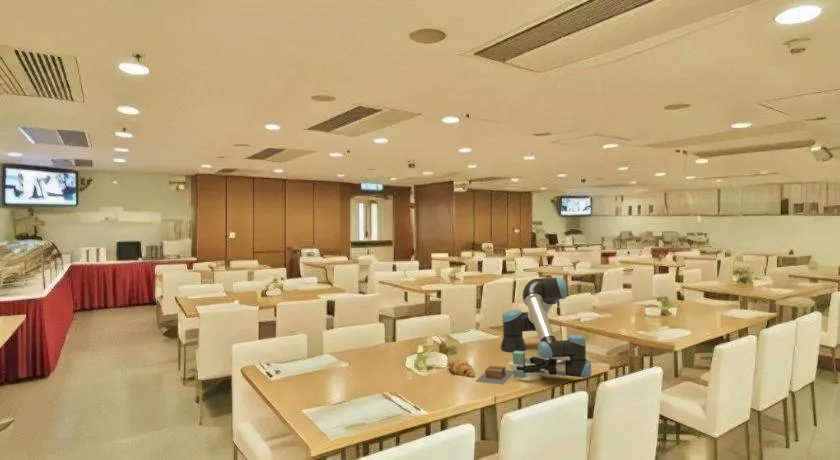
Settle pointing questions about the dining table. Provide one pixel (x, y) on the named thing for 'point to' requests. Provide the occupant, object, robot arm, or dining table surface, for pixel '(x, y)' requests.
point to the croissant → (461, 368)
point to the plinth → (495, 372)
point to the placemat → (495, 381)
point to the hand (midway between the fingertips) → (513, 363)
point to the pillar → (519, 362)
